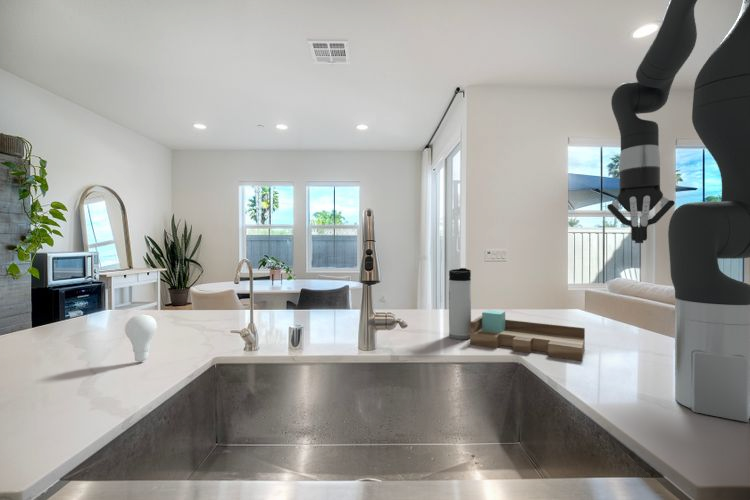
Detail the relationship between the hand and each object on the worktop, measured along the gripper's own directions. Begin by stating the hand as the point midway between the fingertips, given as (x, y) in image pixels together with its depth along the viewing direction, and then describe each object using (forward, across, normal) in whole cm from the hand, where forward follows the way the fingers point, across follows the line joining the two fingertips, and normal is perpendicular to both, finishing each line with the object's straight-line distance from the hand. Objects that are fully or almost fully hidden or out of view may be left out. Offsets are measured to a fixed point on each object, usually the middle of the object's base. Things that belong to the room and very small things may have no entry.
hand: (639, 243), depth 81 cm
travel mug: (+27, -42, -3) cm, 50 cm away
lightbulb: (+27, -95, -65) cm, 118 cm away
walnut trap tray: (+27, -24, -4) cm, 36 cm away
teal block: (+24, -33, -2) cm, 41 cm away
